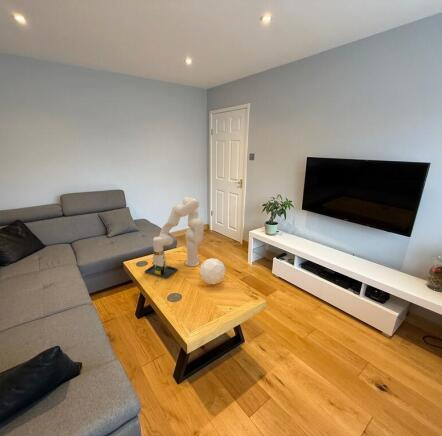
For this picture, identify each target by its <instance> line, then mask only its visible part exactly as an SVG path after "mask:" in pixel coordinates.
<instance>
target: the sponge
mask: <svg viewBox="0 0 442 436" xmlns="http://www.w3.org/2000/svg"><path fill="white" fill-rule="evenodd" d="M164 272H165V268H164ZM155 273H156V274H159V275H161V266H158V267H157V268H155Z"/></svg>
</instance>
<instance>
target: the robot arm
mask: <svg viewBox="0 0 442 436" xmlns="http://www.w3.org/2000/svg"><path fill="white" fill-rule="evenodd" d="M182 204H183V205H182ZM182 204H178V203H177V204H174V205H173V206H172V208H171V211H170V214H169V217H168V220H167V222H165V224H163V226H162V227H161V230H160V232H159V235H158V236H155V237H153V238H152V247H153V254H152V262H151V265H152V266H153V265H154V266H155V268H157V267H158V266H161V274H163V273H164V268H166V267H167V266H168V265H167V259H166V255H165V251H164V247H166V246H172V244H174V238H173V237H172V236H170V235H169V234H170V231H171V229H173V228H174V227H177V226H178V225H179V223H180V220H181V218H184V217H187V226H188V227H189V229H187V230H186V231H185V234H184V236H185V243H186V260H185V265H186V266H188V267H196V266H199V265H200V263H201V261H200V260H199V259H200V255H199V252H198V250H199V249H198V248H199V247H198V244H201V243H202V242H203V239H204V231H205V224H204V222H203V220H201V219H200V218H199V206H200V202H199V200H198V199H196V198H193V197H190V196H185V197H183V199H182Z"/></svg>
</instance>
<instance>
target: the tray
mask: <svg viewBox="0 0 442 436" xmlns="http://www.w3.org/2000/svg"><path fill="white" fill-rule="evenodd" d="M177 271H178V268H177V267H173V266H169V265H167V267H166V268H165V272H164V273H163V274H161V275H159V274H156V273H155V266H154V265H153V264H152V266H150V267H148V268H147V269H145V270H144V273H145V274H148V275H152V276H155V277H159V278H162V279H165V280H167V279H168V278H169V277H170V276H172V275H173V274H174V273H176V272H177Z"/></svg>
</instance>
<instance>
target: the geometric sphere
mask: <svg viewBox="0 0 442 436" xmlns="http://www.w3.org/2000/svg"><path fill="white" fill-rule="evenodd" d="M226 270H227V269H226V267H225V265H224V262H223V261H221V260H219V259H218V258H213V257H212V258H211V257H210V258H208V259H205V260H204V261H203V262H202V263H201V265H200V267H199V276H200V278H201V280H202V281H203V282H204V283H205V284H208V285H213V286H214V285H217V284H219V283H222V281H223V280H224V278H225V277H226Z"/></svg>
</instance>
